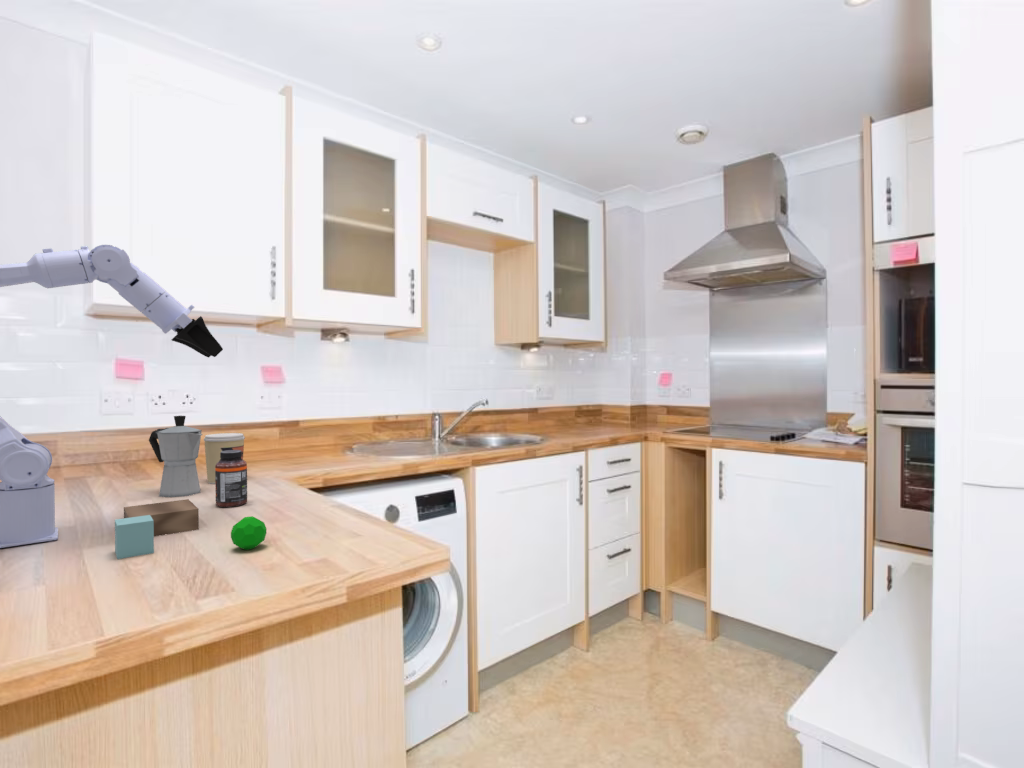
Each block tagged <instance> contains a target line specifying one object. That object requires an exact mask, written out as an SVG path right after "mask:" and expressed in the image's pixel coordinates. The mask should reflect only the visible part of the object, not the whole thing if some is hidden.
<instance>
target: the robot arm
mask: <svg viewBox="0 0 1024 768" xmlns="http://www.w3.org/2000/svg"><path fill="white" fill-rule="evenodd" d="M94 281H99V282H101V283H105V284H107V285H109V286H110V287H111V288H112V289H114V290H115V291H116V292H118V295H119V296H120V297H122V299H124V300H125V301H127V302H128V303H129V304H130V305H132V306H133V307H134V308H135V309H136V310H138V312H140V313H141V314H142V315H143V316H145V317H146V318H147V319H148V320H149V321H151V322H152V323H153V324H154V325H156V326H157V327H158V328H159V329H161V332H162V333H164V334H167V333H169V332H170V331H173V332H174V333H176V335H175V336H173V337H172V339H171V341H172V342H176V343H179V344H181V345H184V346H185V347H187V348H190V349H192V350H193V351H195V352H197V353H199V354H201V355H202V356H204V357H206V358H207V359H208V358H210V357H213V358H215V357H217V356H218V355H219V354H220V353H221V352H222V351H223V349H224V348H223V347H222V345H221V344H220V343H219V342H218V340H217V339H216V338H215V336H213V334H212V333H211V331H210V330H209V329H208V326H207V325H206V322H205V321H204V319H203V317H202V316H201V315H200V316H198V317H197V318H196V319H195V318H190V317H189V314H190V313H191V312H192V310H194V309H195V306H194V305H193V304H191V305H189V306H188V307H187V308H186V307H185V306H184V305H183V304H182V303H181V302H179V301H178V300H177V299H176V298H175V297H174V296H173V295H171V294H170V293H169V292H168V291H167V290H165V289H164V288H163V287H162V286H161V285H160V284H158V283H157V282H156V281H155V279H153V278H152V277H151V276H149V275H148V274H147V273H146V272H143V271H142V270H141V269H140V268H139V267H138V266H137V265H135V264H134V263H133V262H131V259H130V257H129V255H128V253H127V252H126V251H125V250H124V249H121V248H119V247H118V246H113V245H111V244H101V245H97V246H95V247H94V248H92V249H91V250H90V248H89V247H88V246H87V245H84V246H82V245H81V246H80V249H72V250H71V249H70V250H61V251H54V249H53V248H51V247H49V248H43V249H42V252H38V253H35V254H33V255H32V257H30V259H29V260H28V261H27V262H18V263H17V262H15V263H4V264H2V263H1V264H0V288H3V287H4V288H5V287H10V286H16V285H17V286H18V285H22V284H29V283H35V284H37V285H40V286H42V287H43V288H46V289H53V288H63V287H68V286H75V285H85V284H91V283H93V282H94ZM52 464H53V456H52V453H51V451H50V449H49V448H47V447H46V446H44V445H43V444H41V443H38V442H34V441H31V440H30V439H29V438H27V437H26V436H25V435H24V434H23V433H22V432H21V431H19V430H17V429H16V428H15V427H13V426H12V425H10V424H9V423H8V422H7V421H6V420H5V419H4V418H3V417H2V416H1V415H0V549H2V548H10V547H17V546H23V545H30V544H38V543H43V542H51V541H56V540H58V539H59V527H56V509H55V508H56V507H55V505H56V503H55V500H56V497H55V479H54V478H51V477H49V475H48V472H49V471H50V470H49V469H50V468H51V466H52Z"/></svg>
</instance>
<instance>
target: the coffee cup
mask: <svg viewBox="0 0 1024 768" xmlns="http://www.w3.org/2000/svg"><path fill="white" fill-rule="evenodd" d="M245 438H246V437H245V436H244V433H242V432H241V433H239V432H231V433H230V432H224V433H222V432H221V433H213V434H211V433H210V434H206V435H205V436H204V437H203V442H204V452H205V453H204V454H205V467H206V468H205V469H206V478H207V479H206V480H207V483H208V484H211V485H212V484H213V485H216V483H215V466H216V464H217V463H218V462H219V461H220V459H221V458H220V452H221V451H226V450H241V451H242V457H241V459H242V460H244V448H245V447H244V446H245Z"/></svg>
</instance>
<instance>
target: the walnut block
mask: <svg viewBox="0 0 1024 768" xmlns="http://www.w3.org/2000/svg"><path fill="white" fill-rule="evenodd" d="M199 512H200V510H199V508H198V506H196V505H195V504H194V503H193V502H192V501H191V500H190V499H189V498H187V499H179V500H171V501H164V502H162V501H161V502H157V503H155V502H154V503H148V504H146V503H145V504H139V505H131V506H123V518H131V517H138V516H145V515H150V516H151V517H152V519H153V520H154V537H159V535H161V536H164V535H165V534H167V535H172V534H173V533H174V534H177V533H178V534H180V533H185V532H192V530H193V531H197V530H198V531H199V528H200V527H199V523H200V522H199V519H200V517H199V515H200V513H199ZM179 532H180V533H179ZM165 536H166V535H165Z"/></svg>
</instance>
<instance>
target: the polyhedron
mask: <svg viewBox="0 0 1024 768" xmlns="http://www.w3.org/2000/svg"><path fill="white" fill-rule="evenodd" d="M266 526H267V525H266V524H265V522H264V521H262V520H261V519H258V518H256V517H255V516H244V517H243V518H242V519H241V520H239V521H238V522H236V523H235V524H234V525H233V526H232V527H231V531H230V538H231V541H232V544H233V545H235V546H237V547H238V548H240V549H242V550H244V551H248V550H254V549H255V548H256V547H258V546H259V545H260V544H261V543H263V542H264V541H265V538H266V536H267V527H266Z"/></svg>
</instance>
